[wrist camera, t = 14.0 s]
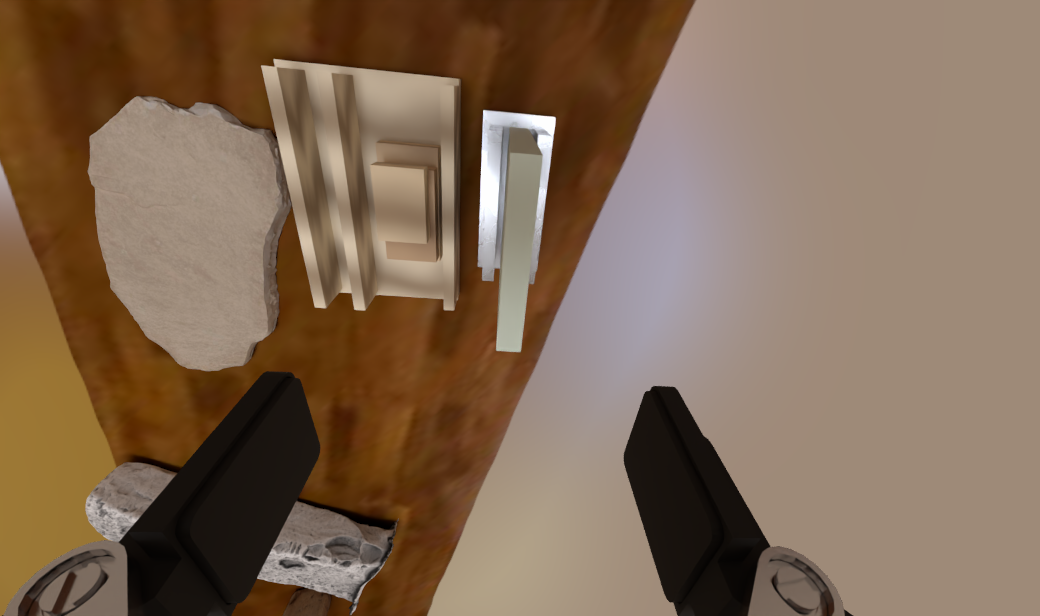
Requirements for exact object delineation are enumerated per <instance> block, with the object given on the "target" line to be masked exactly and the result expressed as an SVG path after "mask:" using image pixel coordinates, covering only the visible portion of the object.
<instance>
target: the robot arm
mask: <svg viewBox="0 0 1040 616" xmlns="http://www.w3.org/2000/svg"><path fill="white" fill-rule="evenodd" d="M319 454H320V443H319V440H318V436H317V433H316V430H315V427H314V423H313V420H312V417H311V413H310V410H309V407H308V404H307V400H306V397H305V394H304V390H303V387H302V384H301V381H300V379H298V378H295V377H294V375H293V374H292V373H291V372H269V371H267V372H265V373H263V374H262V375H261V376H260V377H259V378H258V380H257V381H256V382H255V383H254V384H253V385H252V387H251V388H250V389H249V390H248V391H247V393H246V394H245V395H244V396H243V397H242V398H241V400H240V401H239V402H238V403H237V404H236V405H235V407H234V408H233V409H232V410H231V411H230V412H229V414H228V415H227V416H226V417H225V418H224V419H223V421H222V422H221V423H220V424H219V425H218V426H217V428H216V429H215V430H214V431H213V432H212V433H211V434H210V436H209V437H208V438H207V439H206V440H205V441H204V443H203V444H202V445H201V446H200V447H199V448H198V450H197V451H196V452H195V453H194V454H193V455H192V457H191V458H190V459H189V460H188V461H187V462H186V464H185V465H184V466H183V467H182V468H181V470H180V471H179V472H178V473H177V474H176V475H175V477H174V478H173V479H172V480H171V481H170V482H169V484H168V485H167V486H166V487H165V488H164V489H163V491H162V492H161V493H160V494H159V495H158V496H157V498H156V499H155V500H154V501H153V502H152V503H151V505H150V506H149V507H148V508H147V509H146V510H145V512H144V513H143V514H142V515H141V516H140V517H139V519H138V520H137V521H136V522H135V523H134V525H133V526H132V527H131V528H130V529H129V530H128V532H127V533H126V534H125V535H124V536H123V537H122V539H121V540H120V541H119V542H117V541H107V540H104V541H98V542H93V543H89V544H86V545H83V546H81V547H78V548H76V549H73V550H71V551H69V552H67V553H66V554H64V555H62V556H60V557H58V558H57V559H55V560H53V561H52V562H50V563H49V564H48V565H46V566H45V567H44V568H42V569H41V570H39V571H38V572H37V573H35V574H34V575H33V576H32V577H31V578H30V579H29V580H28V581H27V582H26V583H25V584H24V585H23V586H22V587H21V588H20V589H19V591H18V592H17V593H16V594H15V596H14V597H13V598H12V600H11V601H10V602H9V604H8V606H7V609H6V611H5V613H4V615H3V616H231V614H232V613H233V611H234V609H235V607H236V605H237V603H241V602H242V601H244V600H245V599H246V597H247V596H248V594H249V593H250V591H251V589H252V587H253V585H254V583H255V581H256V579H257V577H258V575H259V573H260V571H261V569H262V567H263V565H264V563H265V562H266V560H267V558H268V556H269V554H270V552H271V550H272V548H273V546H274V544H275V542H276V540H277V538H278V536H279V534H280V532H281V530H282V528H283V526H284V524H285V522H286V520H287V518H288V516H289V514H290V512H291V511H292V509H293V507H294V505H295V503H296V501H297V499H298V497H299V495H300V493H301V491H302V489H303V487H304V485H305V483H306V481H307V479H308V477H309V475H310V473H311V471H312V469H313V467H314V465H315V463H316V461H317V459H318V457H319ZM624 465H625V468H626V472H627V475H628V478H629V481H630V484H631V488H632V491H633V494H634V497H635V501H636V504H637V507H638V510H639V513H640V517H641V520H642V523H643V526H644V530H645V533H646V536H647V539H648V543H649V546H650V549H651V552H652V555H653V559H654V562H655V565H656V568H657V572H658V575H659V578H660V581H661V585H662V588H663V591H664V594H665V596H666V598H667V600H668V601H669V602H673V603H674V605H675V609H676V611H677V615H678V616H853V615H851V614H850V613H848V612H847V611H846V610H844V608H843V602H842V600H841V598H840V596H839V594H838V591H837V589H836V588H835V586H834V585H833V584H832V582H831V581H830V579H829V578H828V577H827V575H825V573H824V572H823V571H822V570H821V569H820V568H819V567H818V566H817V565H816V564H814V563H813V562H812V561H810V560H809V559H808V558H806V557H805V556H804V555H802V554H800V553H797V552H796V551H794V550H792V549H788V548H784V547H780V546H777V547H770V545H769V543H768V541H767V540H766V538H765V536H764V535H763V533H762V531H761V529H760V528H759V526H758V524H757V522H756V521H755V519H754V517H753V515H752V514H751V512H750V510H749V508H748V507H747V505H746V503H745V502H744V500H743V498H742V496H741V494H740V493H739V491H738V489H737V487H736V486H735V484H734V482H733V480H732V479H731V477H730V475H729V473H728V472H727V470H726V468H725V466H724V465H723V463H722V461H721V459H720V458H719V456H718V454H717V452H716V451H715V449H714V447H713V445H712V444H711V443H710V441H709V440H708V439H707V438H705V437H704V436H703V435H702V433H701V431H700V429H699V427H698V426H697V424H696V422H695V420H694V419H693V417H692V415H691V413H690V411H689V410H688V408H687V406H686V405H685V403H684V401H683V399H682V397H681V395H680V394H679V392H678V390H677V389H676V388H675V387H665V386H663V387H662V386H653V387H652V388H651V390H650V391H646V392H645V394H644V396H643V399H642V402H641V405H640V408H639V411H638V414H637V417H636V420H635V423H634V426H633V428H632V431H631V434H630V437H629V440H628V443H627V446H626V449H625V452H624Z"/></svg>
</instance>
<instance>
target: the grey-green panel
mask: <svg viewBox="0 0 1040 616" xmlns="http://www.w3.org/2000/svg"><path fill="white" fill-rule="evenodd" d="M542 161H543V154H542V153H541V151H540V149H539V147H538V145H537V143H536V141H535V140H534V138H533V136H532V134H531V132H530V130H529V129H528V128H518V127H509V141H508V156H507V170H506V185H505V199H504V214H503V229H502V243H501V258H500V278H499V300H498V321H497V342H496V351H511V352H521V344H522V336H523V327H524V318H525V309H526V301H527V292H528V283H529V275H530V266H531V257H532V248H533V240H534V231H535V222H536V213H537V205H538V196H539V187H540V178H541V170H542Z"/></svg>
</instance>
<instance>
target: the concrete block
mask: <svg viewBox="0 0 1040 616" xmlns="http://www.w3.org/2000/svg"><path fill="white" fill-rule="evenodd" d="M176 474H177V473H175V472H172V471H169V470H166V469H162V468H160V467H157V466H154V465H150V464H145V463H130V462H125V463H123V464H122V465H120V466H119V467H117V468H116V469H115V470H113V471H112V472H111V473H110V474H109V475H108V476H107V477H106V478H105V479H103V480H102V481H101V482H100V483H99V484H98V485H97V486H96V487H95V489H94V490H93V491H92V492H91V494H90V495H89V496H88V498H87V501H86V513H87V516H88V520H89V521H90V523H91V524H92V525H93V526H94V528H95V529H96V530H97V531H98V532H99V533H101V534H102V535H103V536H104V537H105V538H107V539H109V540H112V541H117V542H119V541H120V540H121V539H122V537H123V536H124V535H125V534H126V533H127V532H128V530H129V529H130V528H131V527H132V526H133V525H134V523H135V522H136V521H137V520H138V519H139V517H140V516H141V515H142V514H143V513H144V512H145V510H146V509H147V508H148V507H149V506H150V505H151V503H152V502H153V501H154V500H155V499H156V498H157V496H158V495H159V494H160V493H161V492H162V491H163V489H164V488H165V487H166V486H167V485H168V484H169V482H170V481H171V480H172V479H173V478H174V477H175V475H176ZM397 522H398V520H397ZM397 522H394V524H393V525H392V526H391V528H390V529H389V530H386V529H382V528H379V527H372V526H370V527H369V526H368V524H367V525H365V524H359V523H356V522H355V521H353V520H350V519H349V518H347V517H345V516H343V515H341V514H338V513H335V512H333V511H329V510H327V509H320V508H316V507H314V506H310V505H307V504H305V503H302V502H298V501H296V503H295V505H294V507H293V509H292V511H291V512H290V514H289V516H288V518H287V520H286V522H285V524H284V526H283V528H282V530H281V532H280V534H279V536H278V538H277V540H276V542H275V544H274V546H273V548H272V550H271V552H270V554H269V556H268V558H267V560H266V562H265V563H264V565H263V567H262V569H261V571H260V573H259V575H258V577H257V578H258V579H263V580H266V581H270V582H277V583H282V584H293V585H298V586H303V587H305V588H308V589H313V590H316V591H319V592H324V593H329V594H334V595H335V596H337V597H341V598H345V599H347V600H349V601H351V602H353V604H352V605H351V606H350V607H349V609H350V613H349V614H350V615H351V614H352V613H353V612H354V611H355V609H356V606H357V604H358V599H359V597H360V594H361V593H362V592H361V591H362V589H363V588H364V586H365V584H366V583H367V582H368V581H369V580H371V579H372V578H373V577H374V576H375V575H376V574H377V573H378V572H379V571H380V569H381V568H382V567H383V565H384V563H385V561H386V560H387V558H388V556H389V554H390V553H391V552H392V548H393V547H394V546H393V545H394V544H393V538H394V536H395V532H397V531H396V526H397Z"/></svg>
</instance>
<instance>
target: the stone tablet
mask: <svg viewBox="0 0 1040 616" xmlns="http://www.w3.org/2000/svg"><path fill="white" fill-rule="evenodd" d="M88 173H89V176H90V180H91V183H92V185H93V186H94V187H95V204H96V209H95V214H96V218H97V219H96V222H97V229H98V238H99V243H100V246H101V250H102V255H103V258H104V260H105V263H106V268H107V272H108V275H109V278H110V281H111V284H110V287H111V289H112V290H113V291H114V293H115V294H116V295H117V296H118V298H119V299H120V300H121V301H122V303H123V304H124V305H125V306H126V307H127V309H128V310H129V312H130V313H131V315H132V316H133V317H134V319H135V320H136V321H137V322H138V324H139V326H140V327H141V329H142V330H143V331H144V333H145V335H146V336H147V337H148V338H149V339H151V340H152V341H154V342H156V343H157V344H158V345H160V346H161V347H162V348H164V349H165V350H166V351H168V352H169V353H170V355H171V356H172V357H173V358H174V359H175V361H176V362H177V363H179V364H180V365H182V366H184V367H186V368H189V369H201V370H206V371H214V370H217V371H219V370H221V369H223V368H228V367H233V366H243V365H245V364H246V363H247V362H248V361H249V360H250V359H251V357H252V353H253V351H254V348H255V346H256V344H257V342H258V341H261V340H263V339H264V338H265V337H267V336H268V335H269V334H270V333H272V332H273V331H274V329H275V327H276V323H277V317H278V315H279V303H278V301H279V298H278V297H279V294H278V291H277V287H278V286H277V284H276V275H275V273H276V271H277V269H276V267H275V266H276V252H277V247H278V239H279V237H280V234H281V231H282V227H283V225H284V223H285V220H286V218H287V215H288V213H289V211H290V209H291V202H290V193H289V188H288V184H287V179H286V175H285V171H284V166H283V162H282V157H281V153H280V148H279V144H278V141H277V140H276V139H275V137H274V136H273V134H272V132H271V130H266V129H252V128H250V127H248V126H245V125H243V124H242V123H241V122H240V121H239V120H238V119H237V118H236V117H235V116H233V115H232V114H231V113H229V112H228V111H226V110H225V109H223V108H221V107H219V106H218V105H214V104H206V103H195V106H193V107H191V108H189V109H181V108H178V107H176V106H174V105H171V104H168V103H167V102H166V101H165V100H162V99H160V98H157V97H140V96H137V97H135V98H134V99H132V100H131V101H130V102H129V103H128V104H127V105H125V106H124V107H123V108H122V109H121V111H120V112H119V113H118V114H117V115H116V116H114V117H113V118H112V119H110V120H109V122H108V123H106V124H105V125H104V126H103V127H102V128H101V129H100V130H98V131H97V132H96V133H94V134H93V135H91V136H90V163H89V168H88Z"/></svg>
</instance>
